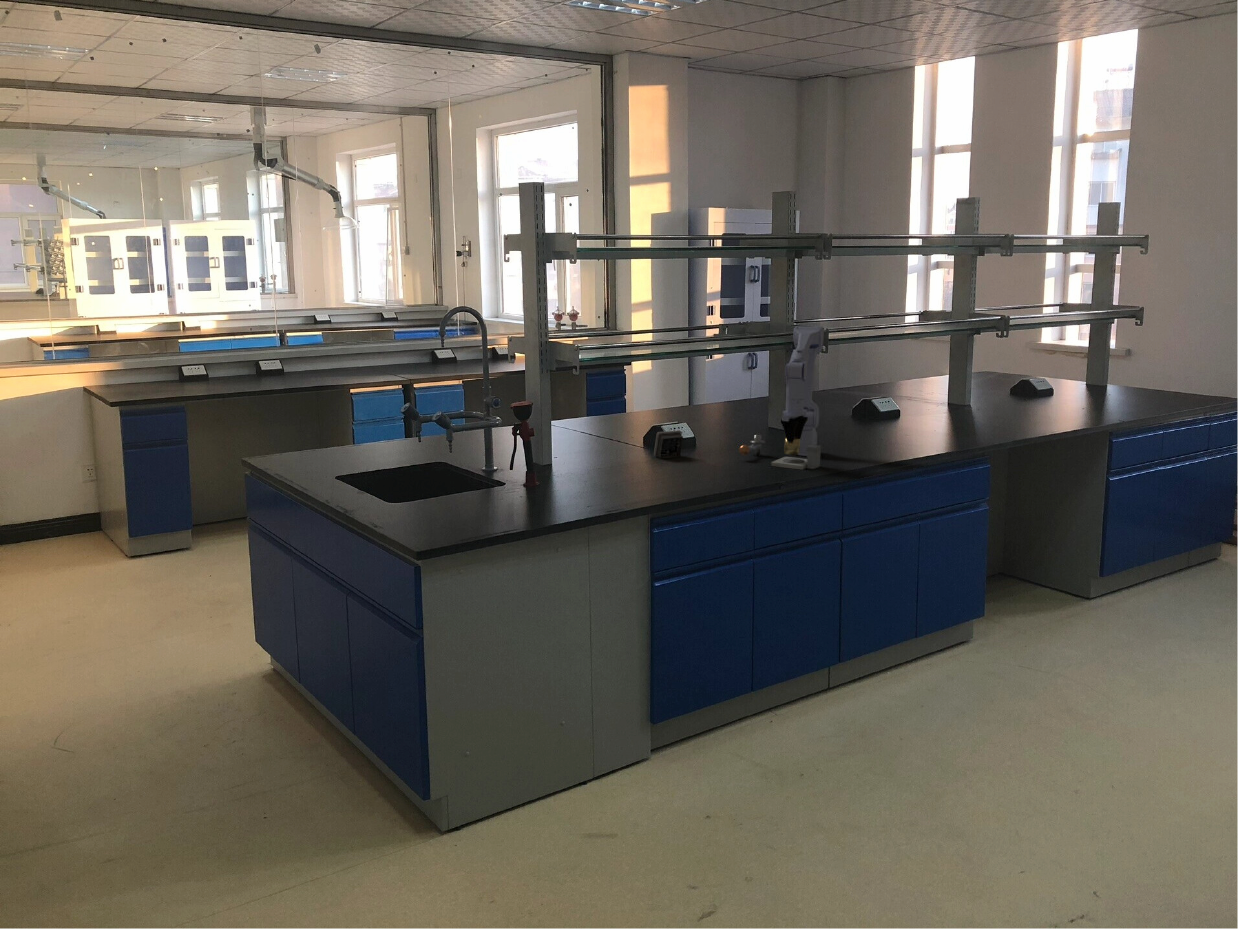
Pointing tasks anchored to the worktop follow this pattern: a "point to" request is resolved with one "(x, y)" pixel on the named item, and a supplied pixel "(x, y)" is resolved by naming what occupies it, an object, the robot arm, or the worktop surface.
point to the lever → (746, 449)
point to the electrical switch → (668, 444)
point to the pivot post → (758, 442)
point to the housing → (792, 447)
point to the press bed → (801, 460)
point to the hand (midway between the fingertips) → (793, 439)
